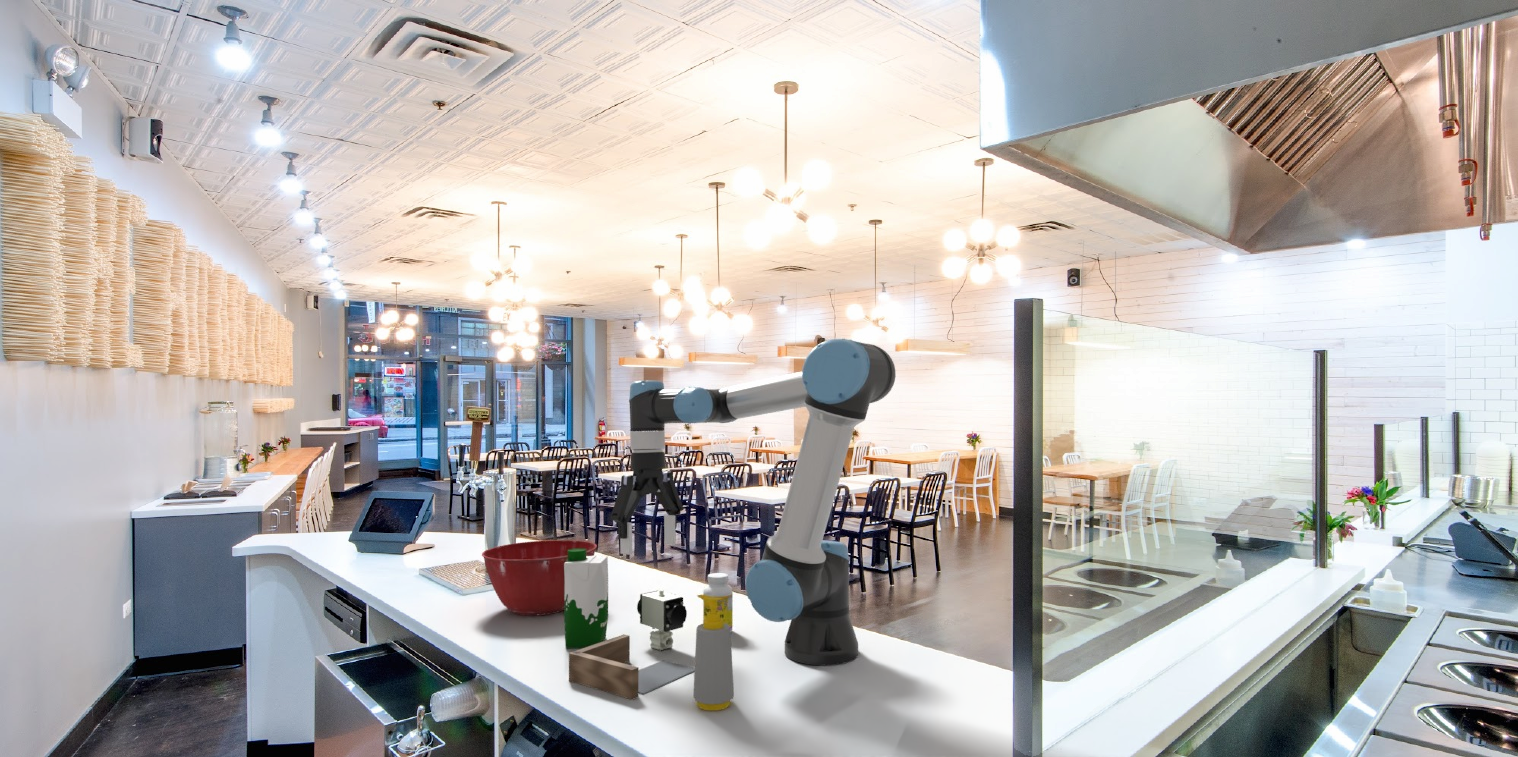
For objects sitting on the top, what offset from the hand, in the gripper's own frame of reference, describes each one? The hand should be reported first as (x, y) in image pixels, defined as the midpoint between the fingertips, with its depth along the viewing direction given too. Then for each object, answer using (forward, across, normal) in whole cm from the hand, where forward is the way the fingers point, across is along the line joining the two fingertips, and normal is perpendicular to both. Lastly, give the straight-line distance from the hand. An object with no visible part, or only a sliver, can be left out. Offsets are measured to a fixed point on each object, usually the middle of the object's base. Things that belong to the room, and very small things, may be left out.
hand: (649, 549), depth 158 cm
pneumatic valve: (+20, 0, +4) cm, 21 cm away
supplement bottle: (+20, -15, +7) cm, 26 cm away
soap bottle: (+21, +18, +32) cm, 43 cm away
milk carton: (+20, +8, -12) cm, 25 cm away
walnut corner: (+20, +18, +11) cm, 29 cm away
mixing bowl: (+20, -5, -44) cm, 48 cm away
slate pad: (+20, +14, +15) cm, 29 cm away
